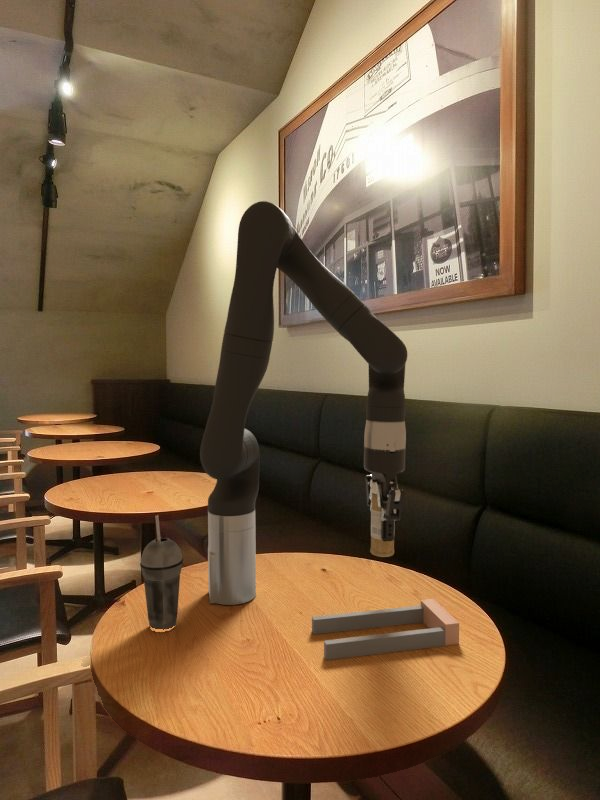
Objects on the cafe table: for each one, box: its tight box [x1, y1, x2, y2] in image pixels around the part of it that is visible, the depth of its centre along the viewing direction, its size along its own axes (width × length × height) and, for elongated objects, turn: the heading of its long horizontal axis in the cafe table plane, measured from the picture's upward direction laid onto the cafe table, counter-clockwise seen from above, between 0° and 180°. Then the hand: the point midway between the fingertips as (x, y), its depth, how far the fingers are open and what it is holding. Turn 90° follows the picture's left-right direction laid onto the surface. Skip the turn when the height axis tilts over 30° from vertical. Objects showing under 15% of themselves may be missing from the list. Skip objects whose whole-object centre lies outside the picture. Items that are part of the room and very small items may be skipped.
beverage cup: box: [139, 514, 184, 630], centre depth 93 cm, size 7×7×20 cm
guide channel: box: [311, 598, 460, 661], centre depth 89 cm, size 22×9×4 cm, turn 102°
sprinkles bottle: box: [369, 482, 396, 558], centre depth 99 cm, size 5×5×14 cm
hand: (382, 535), depth 99 cm, fingers closed on sprinkles bottle, 4 cm apart
